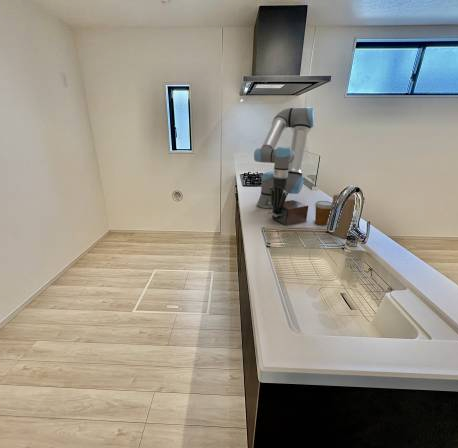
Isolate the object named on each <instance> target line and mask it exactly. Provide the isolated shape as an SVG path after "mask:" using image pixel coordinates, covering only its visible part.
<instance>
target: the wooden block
mask: <svg viewBox="0 0 458 448" xmlns="http://www.w3.org/2000/svg"><path fill="white" fill-rule="evenodd" d="M339 194H340V193H338V194H337V193H336V194H333V197H332V202H331V203H332V207H331V210H332V208H333V205H334V204H335V201H336V199H337V198H338V196H339ZM352 194H353V195H351V196H350V198H349V199H348V200H347V202H346V204H345V205H344V207H343V209H342V212H341V215H340V218H339V221H338V227H337V230H336V231H334V232H329V231H328V230H327V229H326V232H328V233H330V234H332V235H334V236H336V237H339V238H341V239H347V238H348V237H347V233H348V230H349V228H350V225H351V222H352V218H353V211H354V205H355V195H356V194H354V193H352ZM362 197H363V200H364V201H363V205H364V203H365V200H366V198H365V197H366V196H362Z"/></svg>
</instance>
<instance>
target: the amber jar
mask: <svg viewBox="0 0 458 448" xmlns="http://www.w3.org/2000/svg"><path fill="white" fill-rule="evenodd" d="M314 206H315V214H314V215H315V216H314V217H315V219H314V223H315V224H316V225H319V226H326V225H328V223H329V218H330V216H329V215H330V211H331V207H332V202H331V201H328V200H317V201H316V202H315V203H314Z"/></svg>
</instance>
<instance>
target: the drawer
mask: <svg viewBox="0 0 458 448" xmlns="http://www.w3.org/2000/svg"><path fill="white" fill-rule="evenodd" d="M273 210H274V207H273V209H271V210H268V211H267V214H269V215H270V216H271V218H272V219H273V216H274V217H278V216H279V218H278V219H274V221H277V222H278V223H280V224H283V225H285V224H286V220H287V210H286V209H283V208H280V213H279V215H277V214H275V213H274V212H273Z"/></svg>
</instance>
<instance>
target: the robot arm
mask: <svg viewBox="0 0 458 448" xmlns="http://www.w3.org/2000/svg"><path fill="white" fill-rule="evenodd" d="M314 127H315V110H314V108H313V107H307V106H305V107H287V108H285V109H282V110H281V111H280V112H278V113H277V114H276V115H275V117H273V119H272V121H271V127H270V129H269V131H268V133H267V135H266V137H265V139H264V142H263V143H262V145H261V147H259V148H256V149H255V150H254V152H253V160H254V162H257V163H264V164H265V163H267V164H269V163H270V164H273V171H268V172H264V173H262V175H261V179H260V180H261V183H260V185H261V186H260V195H259V198H258V200H257V207H259V208H261V209H268V210H272V209H273V207H274V210H273V212H274V213H275V214H277V215H279V213H280V208H283V206H284V203H285V201H287V200H286V199H287V197H288V196H289V194H290V195H298V194H299V193H301V191H302V189H303V186H304V183H305V182H304V181H305V176H303V172H302V171H301V169H302V165H303V159H304V152H305V148H306V141H307V137H308V136H307V135H308V133H309V132H310V131H311V130H312V129H313V128H314ZM287 128H290V129H291V131H292V138H291V142H290V146H277V144H278V142H279V140H280V138H281V136H282V133H283V132H284V131H285V130H286V129H287ZM278 218H279V216H278V217H274V216H273V218H272V220H275V219H278Z"/></svg>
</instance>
